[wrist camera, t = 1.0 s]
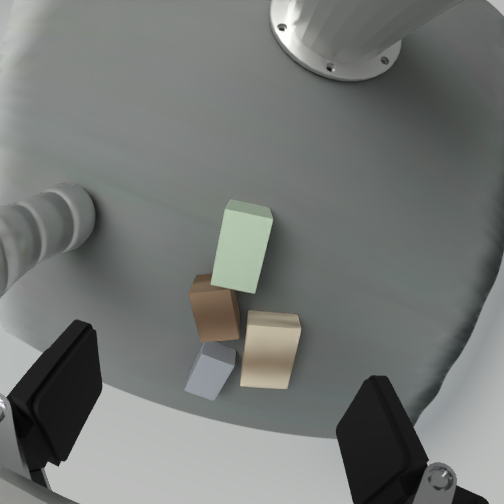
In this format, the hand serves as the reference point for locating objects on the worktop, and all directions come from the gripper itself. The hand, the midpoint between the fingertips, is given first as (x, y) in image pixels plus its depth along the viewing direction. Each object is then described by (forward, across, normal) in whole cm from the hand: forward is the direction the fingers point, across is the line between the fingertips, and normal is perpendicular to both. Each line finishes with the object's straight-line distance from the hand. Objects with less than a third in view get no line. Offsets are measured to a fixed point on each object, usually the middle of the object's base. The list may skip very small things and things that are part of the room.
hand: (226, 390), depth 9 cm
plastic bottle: (+19, +17, +1) cm, 25 cm away
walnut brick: (+19, +1, +6) cm, 20 cm away
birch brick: (+19, -5, +11) cm, 22 cm away
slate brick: (+19, +1, +15) cm, 24 cm away
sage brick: (+19, 0, 0) cm, 19 cm away
